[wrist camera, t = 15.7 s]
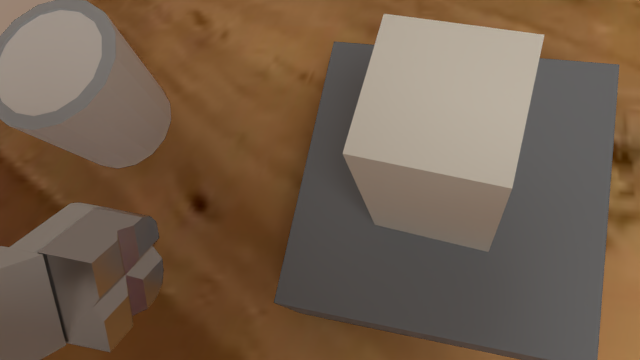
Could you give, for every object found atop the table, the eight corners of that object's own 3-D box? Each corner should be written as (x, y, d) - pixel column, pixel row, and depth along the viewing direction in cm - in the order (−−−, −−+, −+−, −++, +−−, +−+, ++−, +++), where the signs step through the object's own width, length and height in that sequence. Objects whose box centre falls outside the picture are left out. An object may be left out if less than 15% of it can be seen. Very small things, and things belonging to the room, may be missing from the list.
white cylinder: (173, 178, 31) (100, 126, 24) (61, 179, 32) (-36, 131, 26) (188, 66, 33) (126, -10, 26) (83, 72, 34) (-1, 1, 28)
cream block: (374, 224, 23) (342, 153, 15) (401, 124, 24) (384, 13, 17) (488, 252, 22) (512, 188, 14) (511, 145, 23) (544, 34, 15)
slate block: (302, 313, 27) (273, 302, 23) (350, 91, 31) (334, 41, 26) (567, 369, 24) (596, 369, 20) (589, 116, 28) (619, 64, 23)
